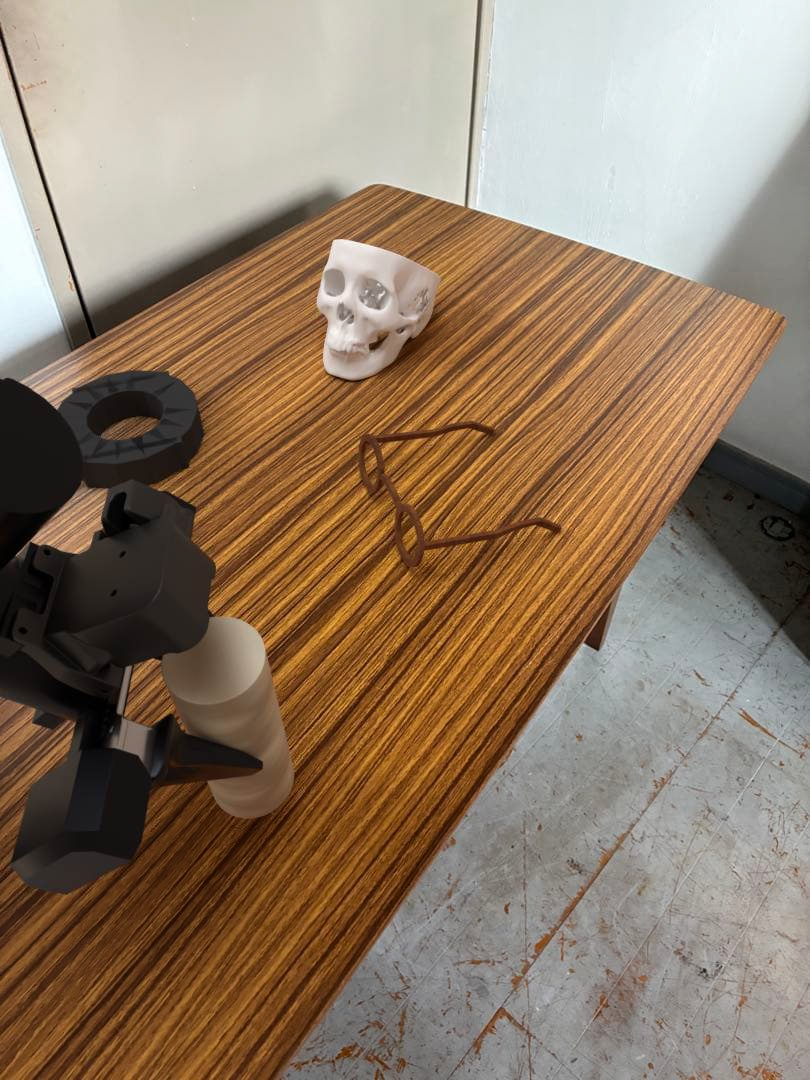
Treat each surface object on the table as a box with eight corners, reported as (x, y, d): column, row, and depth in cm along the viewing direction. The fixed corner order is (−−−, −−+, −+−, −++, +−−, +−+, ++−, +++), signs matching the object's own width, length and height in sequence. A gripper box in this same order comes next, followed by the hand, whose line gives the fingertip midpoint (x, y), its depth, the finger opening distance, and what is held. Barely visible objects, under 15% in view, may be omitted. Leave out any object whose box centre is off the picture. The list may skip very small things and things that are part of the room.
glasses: (355, 469, 70) (352, 425, 66) (492, 431, 73) (497, 387, 69) (412, 582, 62) (412, 539, 58) (564, 534, 65) (573, 490, 61)
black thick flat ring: (212, 471, 70) (206, 445, 68) (65, 502, 68) (53, 476, 65) (193, 385, 77) (186, 359, 75) (61, 410, 75) (50, 384, 73)
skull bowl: (278, 362, 77) (304, 227, 73) (347, 359, 90) (372, 244, 86) (374, 394, 74) (407, 255, 70) (432, 387, 86) (463, 268, 82)
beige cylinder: (232, 834, 45) (184, 722, 36) (198, 766, 48) (145, 644, 38) (308, 790, 47) (283, 672, 37) (272, 727, 50) (239, 600, 40)
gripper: (-20, 745, 24) (371, 860, 32) (103, 354, 36) (364, 515, 45) (-155, 855, 29) (208, 928, 38) (-9, 486, 42) (241, 605, 50)
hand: (261, 723), depth 43 cm, fingers closed on beige cylinder, 5 cm apart
